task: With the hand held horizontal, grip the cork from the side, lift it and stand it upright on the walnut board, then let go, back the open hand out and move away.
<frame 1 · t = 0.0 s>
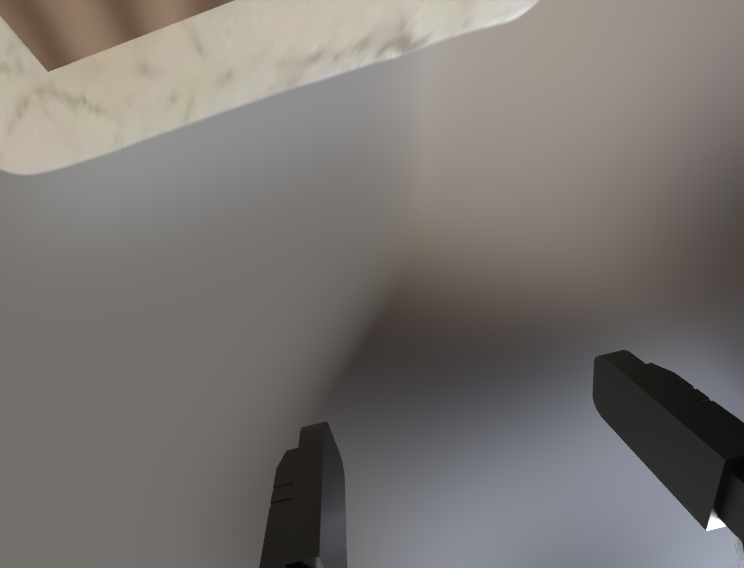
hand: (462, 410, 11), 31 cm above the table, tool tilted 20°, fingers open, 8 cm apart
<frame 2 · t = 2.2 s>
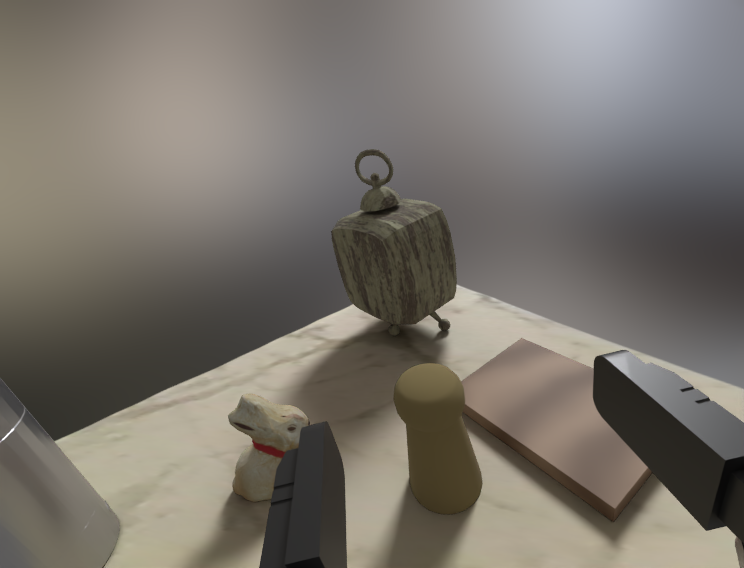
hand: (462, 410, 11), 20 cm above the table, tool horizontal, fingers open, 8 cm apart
chocolate bunny: (280, 477, 34), on the table
walnut board: (555, 412, 34), on the table
tabletop clock: (405, 329, 52), on the table
cork: (445, 479, 30), on the table
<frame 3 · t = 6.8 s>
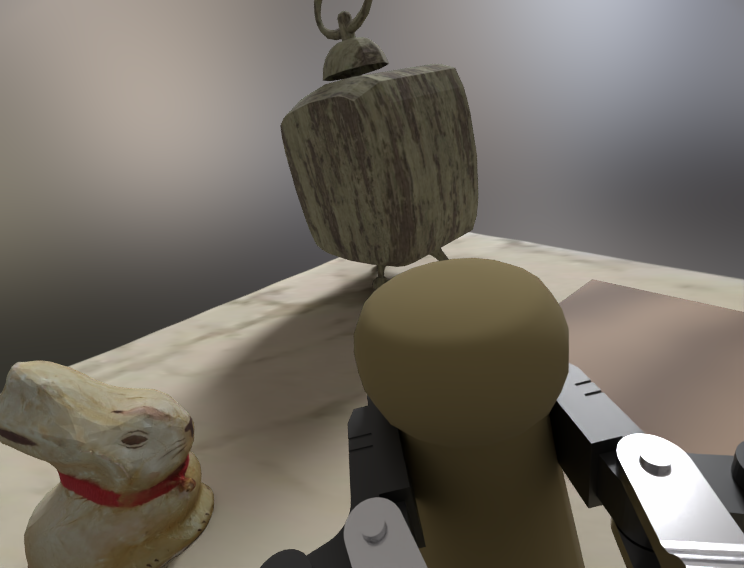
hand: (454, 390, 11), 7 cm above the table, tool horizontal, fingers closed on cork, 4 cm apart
chocolate bunny: (143, 538, 17), on the table
walnut board: (701, 397, 17), on the table
tabletop clock: (397, 285, 35), on the table
cork: (489, 553, 13), on the table, touching gripper
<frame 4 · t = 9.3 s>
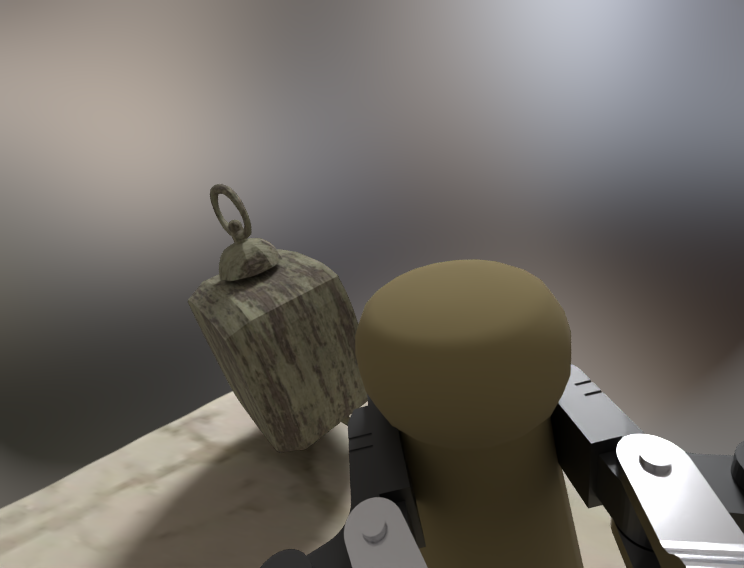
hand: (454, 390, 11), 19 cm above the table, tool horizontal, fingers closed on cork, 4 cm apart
tabletop clock: (313, 430, 37), on the table
cork: (489, 555, 13), point 12 cm above the table, touching gripper
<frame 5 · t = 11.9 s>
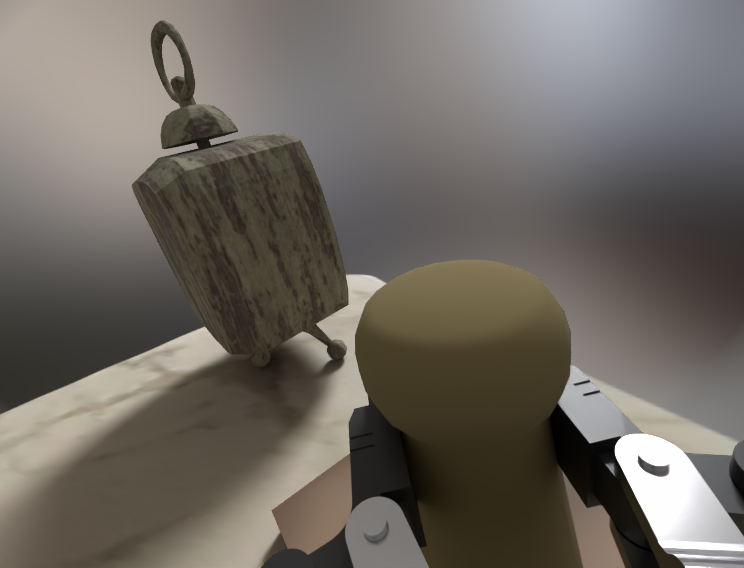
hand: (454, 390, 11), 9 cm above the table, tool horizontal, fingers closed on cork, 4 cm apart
tabletop clock: (284, 354, 32), on the table
cork: (488, 555, 13), point 2 cm above the table, touching gripper
when the fingers open (9 cm above the table, at t = 12.0 s): cork moves 3 cm, resting on walnut board.
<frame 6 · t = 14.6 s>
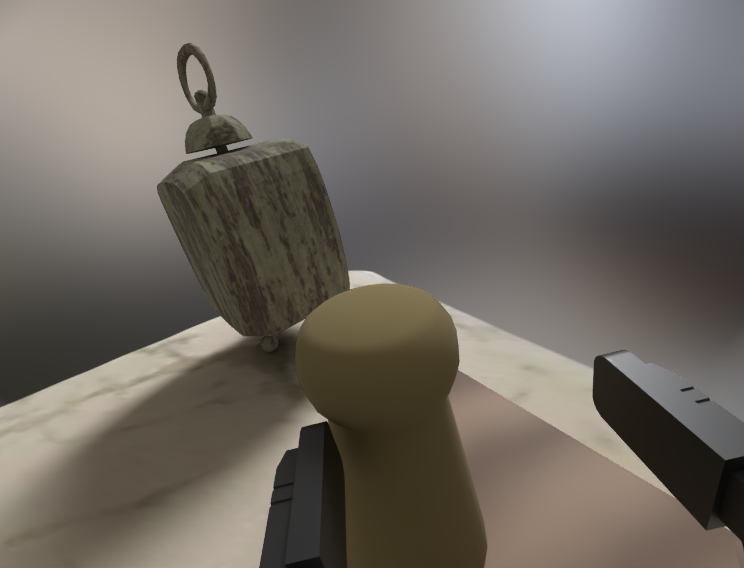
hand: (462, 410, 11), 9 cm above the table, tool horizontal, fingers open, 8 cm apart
walnut board: (467, 515, 17), on the table
tabletop clock: (290, 341, 35), on the table
cork: (413, 533, 15), point 1 cm above the table, touching walnut board
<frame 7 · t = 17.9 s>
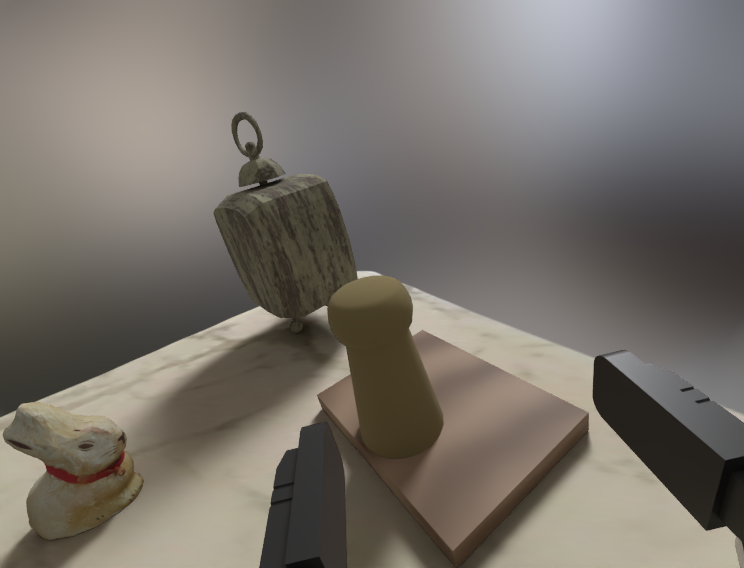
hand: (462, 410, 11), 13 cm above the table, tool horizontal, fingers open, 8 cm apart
chocolate bunny: (98, 506, 27), on the table
walnut board: (435, 417, 27), on the table
tabletop clock: (311, 325, 46), on the table
cork: (401, 424, 25), point 1 cm above the table, touching walnut board
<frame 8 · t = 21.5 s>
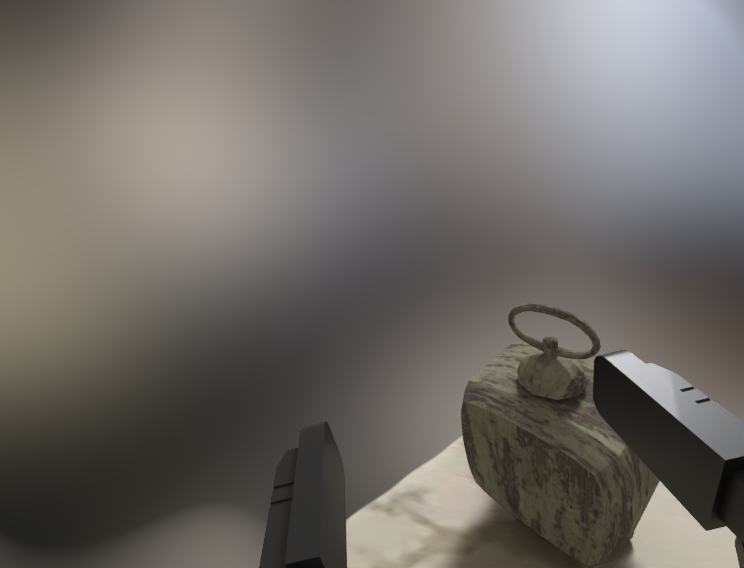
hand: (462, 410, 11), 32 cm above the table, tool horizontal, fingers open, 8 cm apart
tabletop clock: (551, 518, 37), on the table
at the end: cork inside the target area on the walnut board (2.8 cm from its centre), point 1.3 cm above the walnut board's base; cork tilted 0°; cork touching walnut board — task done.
